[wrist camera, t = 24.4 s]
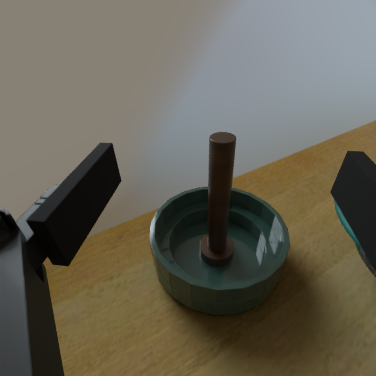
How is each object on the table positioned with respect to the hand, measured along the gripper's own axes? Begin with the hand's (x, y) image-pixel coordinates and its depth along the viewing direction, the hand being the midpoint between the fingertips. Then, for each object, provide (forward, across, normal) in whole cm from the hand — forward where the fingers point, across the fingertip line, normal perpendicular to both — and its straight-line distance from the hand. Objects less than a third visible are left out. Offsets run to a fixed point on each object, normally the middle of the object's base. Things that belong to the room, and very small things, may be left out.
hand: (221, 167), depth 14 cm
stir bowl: (+10, 0, -21) cm, 23 cm away
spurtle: (+10, 0, -20) cm, 22 cm away
